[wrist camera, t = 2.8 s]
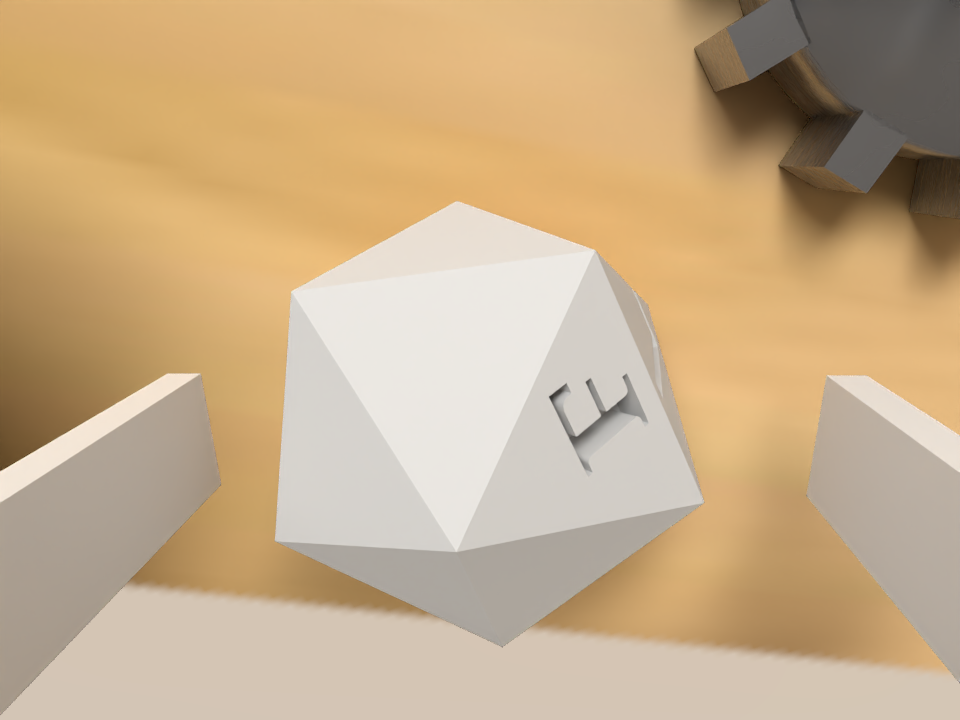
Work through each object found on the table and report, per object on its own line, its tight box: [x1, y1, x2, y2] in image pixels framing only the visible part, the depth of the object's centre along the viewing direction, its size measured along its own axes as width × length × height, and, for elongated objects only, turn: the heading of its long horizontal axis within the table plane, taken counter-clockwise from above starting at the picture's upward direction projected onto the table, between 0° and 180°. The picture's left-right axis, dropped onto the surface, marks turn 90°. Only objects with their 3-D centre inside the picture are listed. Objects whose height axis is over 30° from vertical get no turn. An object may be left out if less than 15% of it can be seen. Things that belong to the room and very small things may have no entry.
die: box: [275, 201, 704, 647], centre depth 13 cm, size 8×9×10 cm
